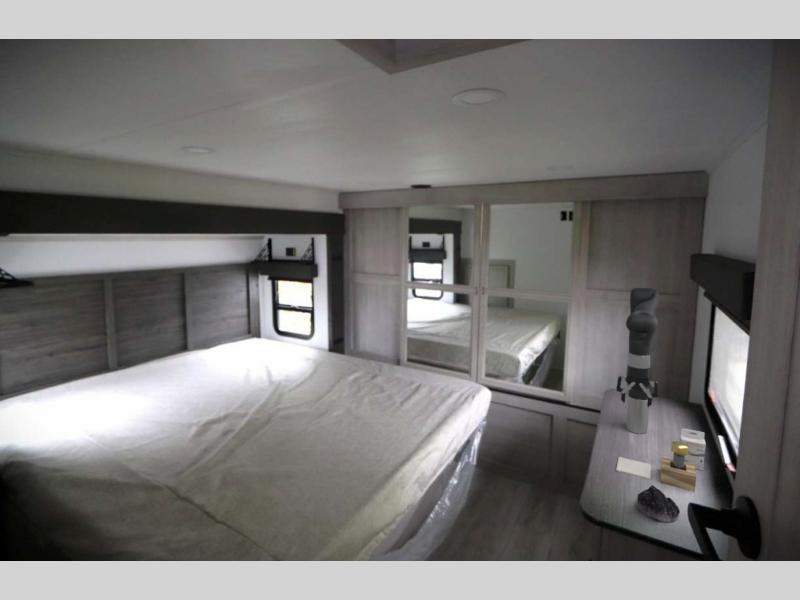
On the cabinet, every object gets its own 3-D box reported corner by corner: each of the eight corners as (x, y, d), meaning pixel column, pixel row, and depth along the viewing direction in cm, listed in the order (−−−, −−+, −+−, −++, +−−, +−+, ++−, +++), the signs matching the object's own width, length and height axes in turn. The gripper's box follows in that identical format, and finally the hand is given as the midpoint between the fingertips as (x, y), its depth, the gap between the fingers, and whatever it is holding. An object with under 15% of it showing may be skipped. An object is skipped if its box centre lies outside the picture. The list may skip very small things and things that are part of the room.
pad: (618, 458, 181) (618, 456, 181) (650, 465, 174) (651, 464, 174) (616, 470, 171) (616, 469, 171) (650, 479, 164) (650, 478, 164)
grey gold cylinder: (668, 474, 168) (671, 439, 166) (685, 478, 165) (688, 443, 163) (668, 481, 163) (671, 445, 161) (685, 485, 160) (689, 449, 158)
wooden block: (660, 469, 171) (661, 456, 170) (693, 477, 165) (694, 463, 165) (660, 482, 162) (661, 468, 161) (694, 491, 156) (696, 476, 155)
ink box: (678, 465, 175) (681, 432, 173) (677, 460, 179) (680, 427, 177) (703, 470, 170) (706, 437, 168) (702, 465, 174) (705, 432, 172)
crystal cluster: (672, 504, 150) (670, 477, 150) (687, 526, 137) (686, 496, 137) (631, 501, 154) (630, 475, 153) (642, 522, 140) (641, 493, 140)
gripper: (660, 365, 163) (656, 404, 165) (619, 359, 170) (616, 397, 172) (659, 370, 156) (656, 411, 159) (617, 364, 164) (614, 403, 166)
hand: (635, 404), depth 166 cm, fingers open, 8 cm apart
